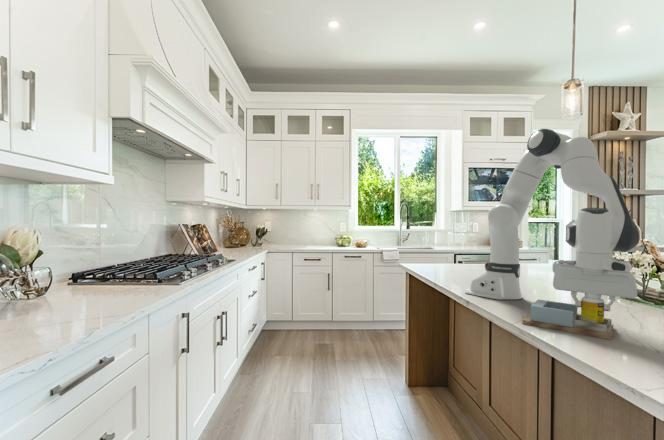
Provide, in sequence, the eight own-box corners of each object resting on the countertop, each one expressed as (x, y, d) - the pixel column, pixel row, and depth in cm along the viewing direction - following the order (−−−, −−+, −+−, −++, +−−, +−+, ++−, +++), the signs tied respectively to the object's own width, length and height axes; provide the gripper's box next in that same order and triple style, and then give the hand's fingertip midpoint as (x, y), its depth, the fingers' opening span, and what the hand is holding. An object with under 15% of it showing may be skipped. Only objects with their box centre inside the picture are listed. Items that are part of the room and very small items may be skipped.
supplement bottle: (599, 330, 103) (600, 294, 103) (577, 325, 108) (578, 290, 108) (607, 327, 106) (607, 292, 106) (585, 322, 111) (586, 289, 111)
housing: (530, 320, 112) (530, 305, 112) (537, 312, 121) (538, 299, 121) (572, 327, 105) (573, 312, 105) (577, 319, 114) (577, 304, 114)
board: (522, 323, 112) (522, 313, 112) (531, 314, 123) (531, 305, 123) (611, 339, 98) (611, 328, 98) (613, 328, 109) (613, 317, 109)
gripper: (551, 260, 111) (550, 304, 111) (638, 266, 98) (637, 317, 98) (554, 258, 116) (553, 301, 116) (637, 264, 103) (636, 312, 103)
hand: (592, 308), depth 107 cm, fingers closed on supplement bottle, 6 cm apart
